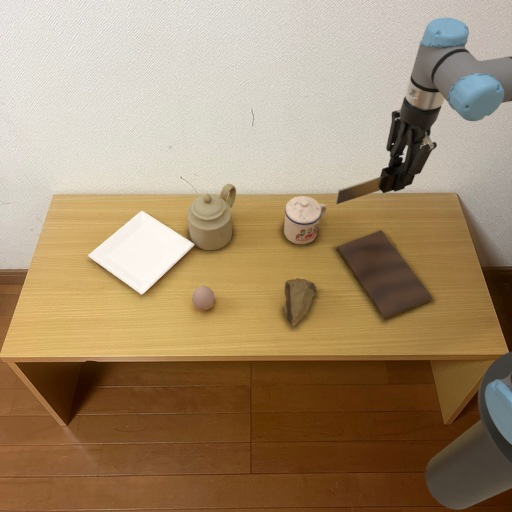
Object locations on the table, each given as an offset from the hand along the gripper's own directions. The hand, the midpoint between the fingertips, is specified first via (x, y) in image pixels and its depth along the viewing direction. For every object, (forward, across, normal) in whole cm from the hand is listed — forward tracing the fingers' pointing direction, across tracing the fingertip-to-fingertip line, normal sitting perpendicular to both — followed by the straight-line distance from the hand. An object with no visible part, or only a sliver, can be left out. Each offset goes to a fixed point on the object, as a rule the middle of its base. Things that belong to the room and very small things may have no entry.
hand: (394, 184), depth 114 cm
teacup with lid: (+15, -6, -19) cm, 26 cm away
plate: (+15, -15, -60) cm, 64 cm away
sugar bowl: (+15, -16, -42) cm, 47 cm away
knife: (0, 0, -6) cm, 6 cm away
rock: (+16, +14, -30) cm, 37 cm away
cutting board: (+15, +14, -8) cm, 22 cm away
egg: (+15, +5, -51) cm, 54 cm away
